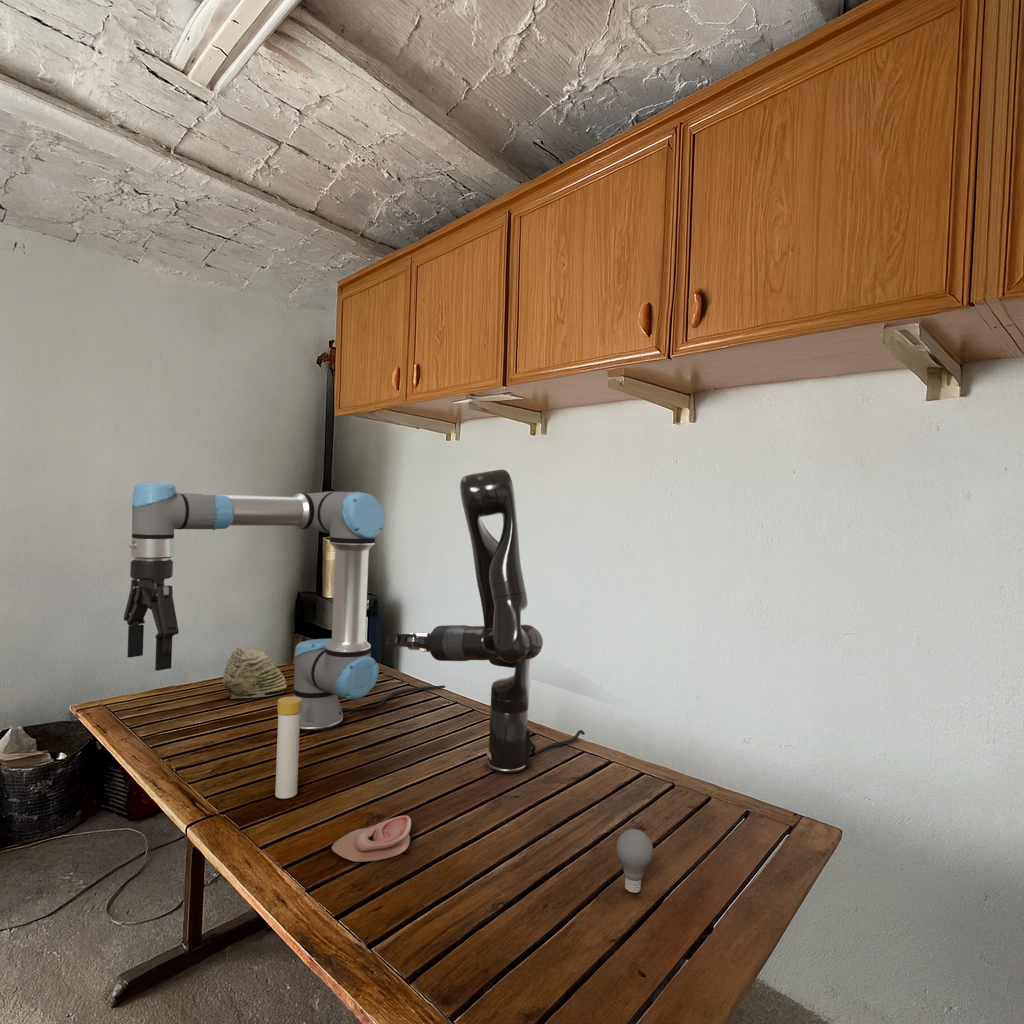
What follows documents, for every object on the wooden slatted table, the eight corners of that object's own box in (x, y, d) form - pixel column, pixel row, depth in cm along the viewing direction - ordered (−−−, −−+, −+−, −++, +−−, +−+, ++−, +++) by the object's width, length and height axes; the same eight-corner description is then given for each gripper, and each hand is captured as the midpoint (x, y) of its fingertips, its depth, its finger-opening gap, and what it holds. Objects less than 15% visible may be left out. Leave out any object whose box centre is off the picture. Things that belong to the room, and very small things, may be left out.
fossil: (218, 695, 195) (220, 647, 195) (278, 685, 208) (279, 640, 207) (228, 703, 189) (230, 653, 188) (289, 692, 201) (290, 645, 201)
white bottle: (276, 789, 136) (280, 699, 136) (298, 788, 137) (301, 698, 137) (273, 799, 132) (277, 705, 131) (295, 798, 133) (299, 705, 132)
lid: (278, 707, 136) (279, 696, 136) (302, 707, 137) (302, 696, 137) (275, 715, 131) (276, 703, 131) (300, 714, 132) (300, 703, 132)
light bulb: (610, 879, 108) (613, 822, 108) (644, 879, 109) (647, 822, 109) (619, 902, 102) (622, 840, 102) (655, 901, 103) (658, 840, 103)
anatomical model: (323, 834, 111) (353, 804, 123) (323, 856, 111) (352, 824, 123) (394, 845, 109) (418, 814, 120) (393, 868, 109) (417, 834, 120)
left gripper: (108, 554, 134) (104, 654, 134) (159, 565, 118) (155, 678, 119) (146, 552, 140) (143, 648, 140) (199, 563, 124) (195, 671, 124)
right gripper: (477, 629, 142) (424, 630, 151) (434, 621, 131) (380, 622, 140) (475, 663, 139) (421, 662, 149) (431, 658, 128) (376, 657, 138)
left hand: (148, 662), depth 129 cm, fingers open, 13 cm apart
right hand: (401, 643), depth 144 cm, fingers open, 8 cm apart
